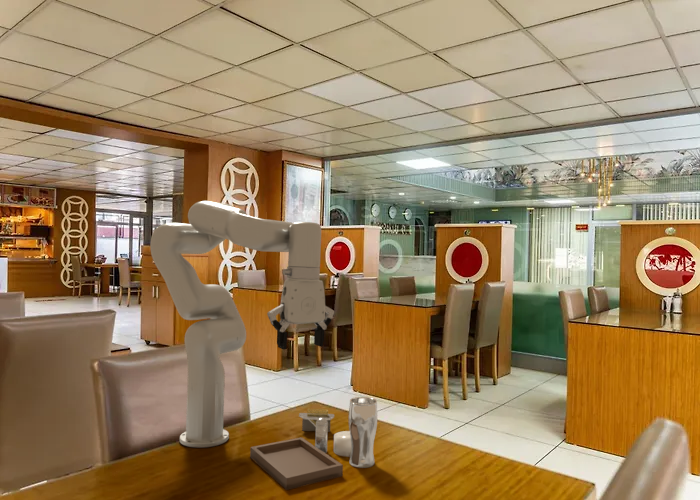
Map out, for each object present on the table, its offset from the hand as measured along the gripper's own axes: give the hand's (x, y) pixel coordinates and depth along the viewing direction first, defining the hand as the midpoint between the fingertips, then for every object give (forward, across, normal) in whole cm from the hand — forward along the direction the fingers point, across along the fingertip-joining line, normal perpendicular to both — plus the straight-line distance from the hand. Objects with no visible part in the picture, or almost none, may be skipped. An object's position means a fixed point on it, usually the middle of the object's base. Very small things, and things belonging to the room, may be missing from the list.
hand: (300, 346), depth 121 cm
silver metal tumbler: (+28, +14, -6) cm, 32 cm away
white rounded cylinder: (+28, +16, +2) cm, 32 cm away
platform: (+29, +16, +18) cm, 37 cm away
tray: (+28, 0, 0) cm, 28 cm away
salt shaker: (+28, +10, +5) cm, 30 cm away
